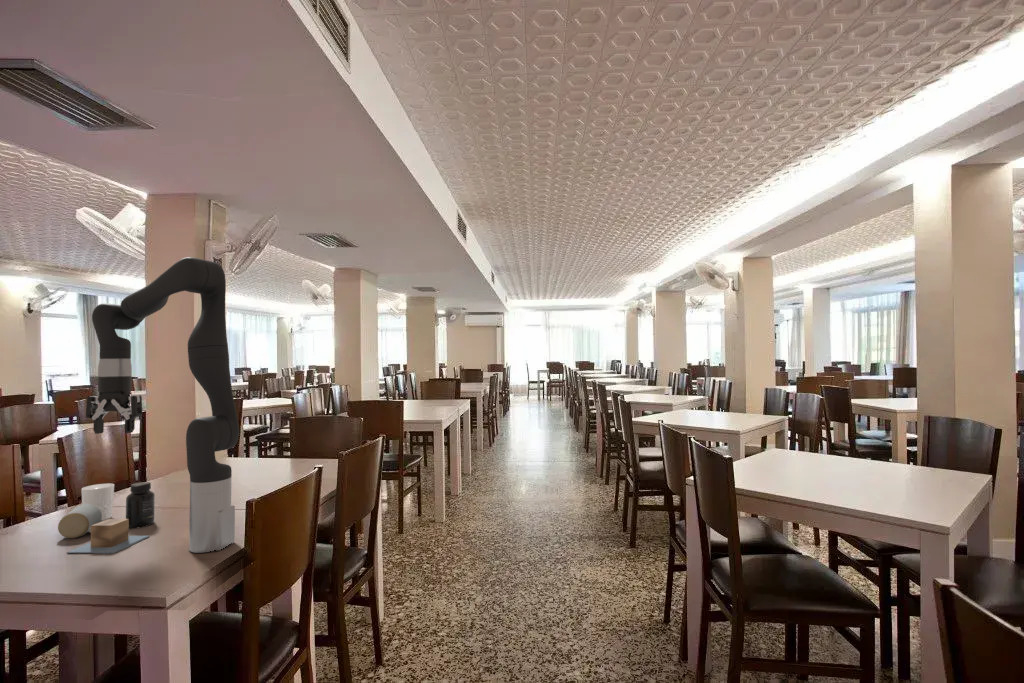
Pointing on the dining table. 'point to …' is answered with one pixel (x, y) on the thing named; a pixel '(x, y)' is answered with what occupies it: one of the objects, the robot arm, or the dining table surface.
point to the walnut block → (109, 532)
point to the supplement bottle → (140, 505)
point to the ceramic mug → (79, 521)
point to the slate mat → (114, 549)
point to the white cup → (99, 498)
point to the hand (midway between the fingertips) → (113, 433)
